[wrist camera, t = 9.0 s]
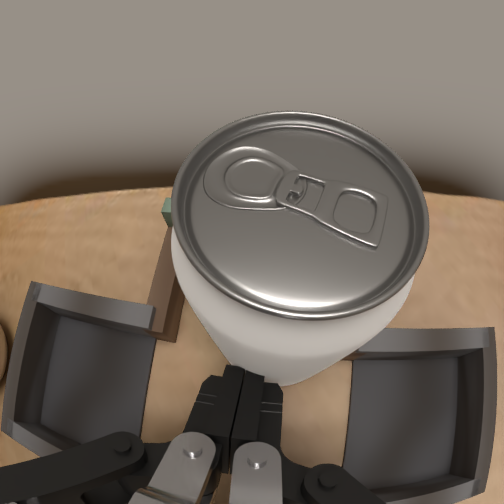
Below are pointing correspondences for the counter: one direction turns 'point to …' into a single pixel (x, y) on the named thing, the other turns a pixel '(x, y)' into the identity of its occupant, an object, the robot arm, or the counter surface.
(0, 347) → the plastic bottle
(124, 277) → the counter surface
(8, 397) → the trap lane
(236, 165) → the can
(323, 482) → the robot arm
